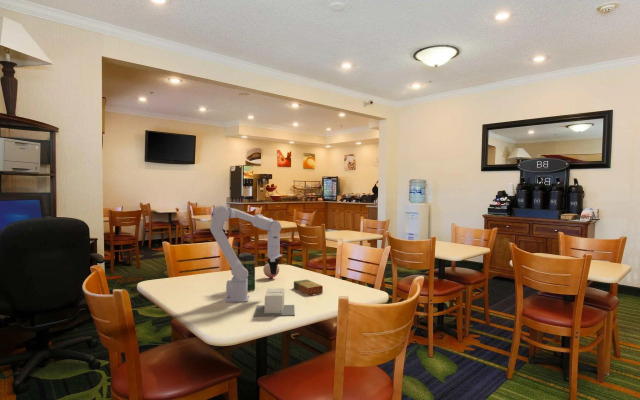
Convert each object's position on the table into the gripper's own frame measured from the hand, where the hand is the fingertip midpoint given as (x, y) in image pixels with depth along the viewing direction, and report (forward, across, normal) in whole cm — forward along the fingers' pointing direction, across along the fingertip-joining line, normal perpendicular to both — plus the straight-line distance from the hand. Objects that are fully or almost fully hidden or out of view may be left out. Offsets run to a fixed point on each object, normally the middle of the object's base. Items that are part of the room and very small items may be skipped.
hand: (273, 274), depth 171 cm
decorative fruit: (+11, +36, +4) cm, 38 cm away
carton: (+11, +9, -17) cm, 22 cm away
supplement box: (+6, -14, -2) cm, 16 cm away
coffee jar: (+11, +13, +14) cm, 22 cm away
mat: (+10, -22, -2) cm, 24 cm away
